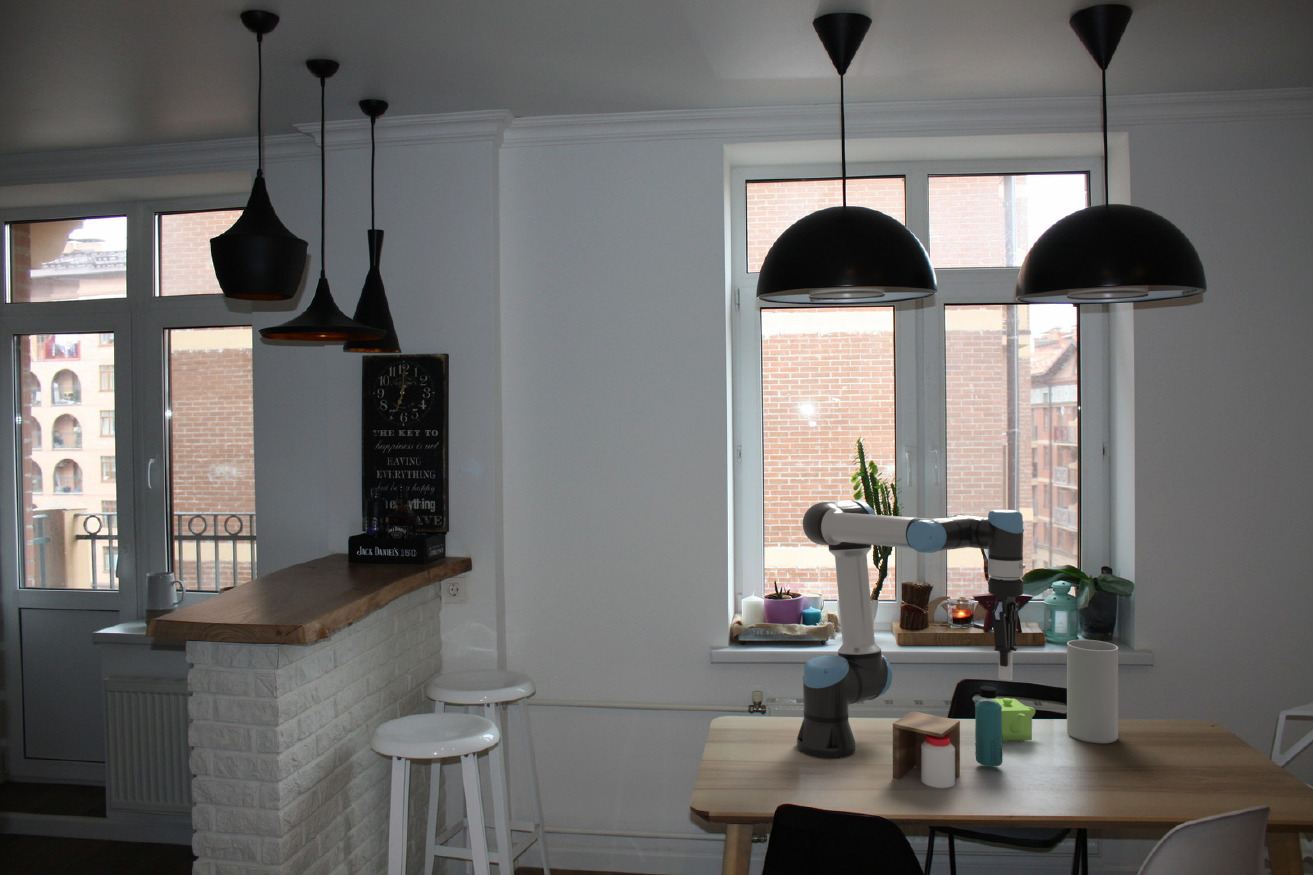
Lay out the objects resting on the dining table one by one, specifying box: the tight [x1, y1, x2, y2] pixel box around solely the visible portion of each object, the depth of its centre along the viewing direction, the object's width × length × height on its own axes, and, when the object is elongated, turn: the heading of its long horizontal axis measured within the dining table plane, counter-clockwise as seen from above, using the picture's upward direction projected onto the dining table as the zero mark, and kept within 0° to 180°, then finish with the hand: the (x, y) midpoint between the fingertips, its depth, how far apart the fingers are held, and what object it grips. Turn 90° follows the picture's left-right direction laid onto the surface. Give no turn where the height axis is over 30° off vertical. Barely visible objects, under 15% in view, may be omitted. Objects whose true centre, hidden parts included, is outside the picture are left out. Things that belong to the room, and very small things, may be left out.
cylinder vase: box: [1066, 639, 1119, 744], centre depth 242 cm, size 12×12×25 cm
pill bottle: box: [920, 734, 956, 789], centre depth 212 cm, size 8×8×11 cm
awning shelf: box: [892, 710, 961, 781], centre depth 215 cm, size 12×12×13 cm
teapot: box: [990, 696, 1036, 743], centre depth 242 cm, size 15×13×11 cm
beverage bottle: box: [974, 685, 1004, 767], centre depth 220 cm, size 6×7×20 cm
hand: (1005, 679), depth 205 cm, fingers closed
